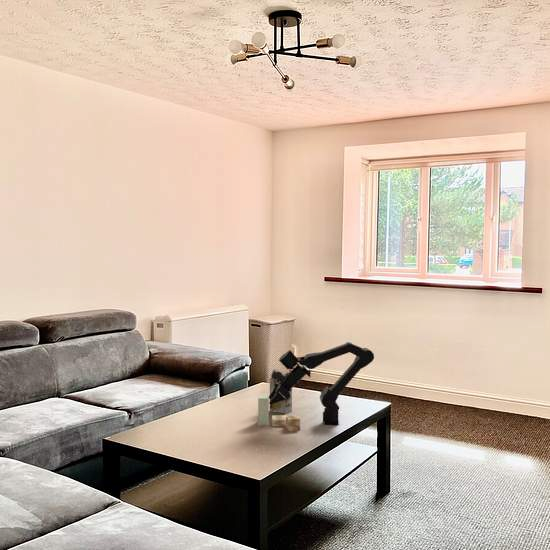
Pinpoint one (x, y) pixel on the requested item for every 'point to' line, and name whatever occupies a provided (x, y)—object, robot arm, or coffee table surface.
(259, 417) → the sage block
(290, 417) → the oak cube
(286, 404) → the coffee box
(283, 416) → the maple slab
